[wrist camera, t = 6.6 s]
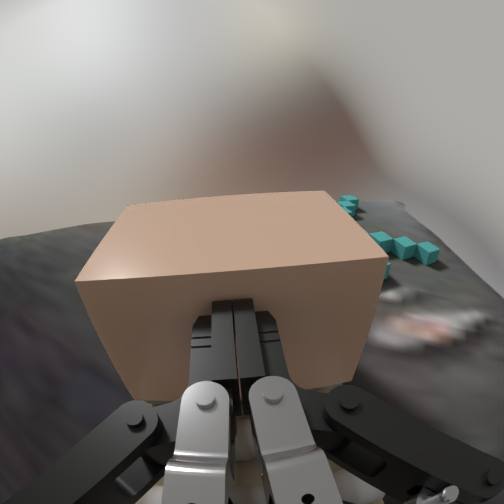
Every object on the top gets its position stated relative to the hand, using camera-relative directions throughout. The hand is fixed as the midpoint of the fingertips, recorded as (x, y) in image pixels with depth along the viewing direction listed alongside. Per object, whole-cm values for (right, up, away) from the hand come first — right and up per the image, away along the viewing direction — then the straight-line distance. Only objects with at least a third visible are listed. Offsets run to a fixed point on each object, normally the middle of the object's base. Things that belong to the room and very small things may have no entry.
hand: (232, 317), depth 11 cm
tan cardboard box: (0, -3, +6) cm, 7 cm away
